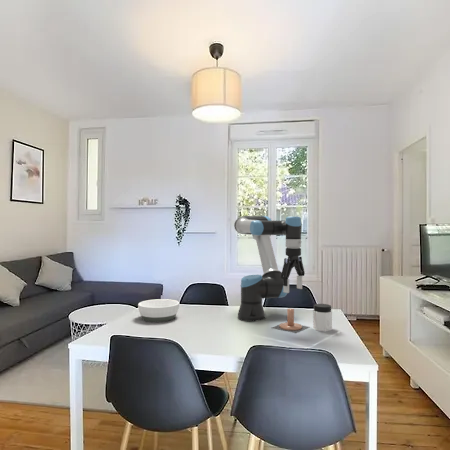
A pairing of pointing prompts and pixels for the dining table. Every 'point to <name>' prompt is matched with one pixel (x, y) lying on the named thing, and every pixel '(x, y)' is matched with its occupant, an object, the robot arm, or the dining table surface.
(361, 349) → the dining table surface
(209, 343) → the dining table surface
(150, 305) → the bowl
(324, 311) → the jar
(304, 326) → the mat
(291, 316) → the orange post stand
